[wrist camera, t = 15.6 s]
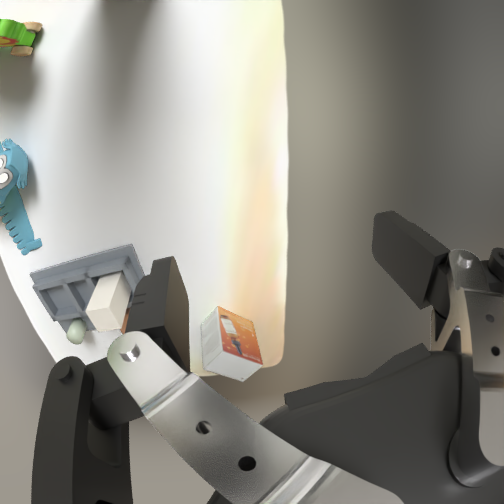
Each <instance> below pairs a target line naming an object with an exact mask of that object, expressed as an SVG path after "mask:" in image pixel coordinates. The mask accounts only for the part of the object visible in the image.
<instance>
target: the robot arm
mask: <svg viewBox="0 0 504 504" xmlns="http://www.w3.org/2000/svg"><path fill="white" fill-rule="evenodd" d="M372 252H373V256H374V258H375V260H376V261H377V262H378V263H379V264H380V266H382V268H383V269H384V270H385V271H386V272H387V273H388V274H389V275H390V276H391V277H392V278H393V279H394V281H396V283H397V284H398V285H399V286H400V287H401V288H402V289H403V290H404V292H405V293H406V294H407V295H408V296H409V297H410V298H411V299H412V301H413V302H414V303H415V304H416V305H417V306H418V308H419V309H423V308H425V307H427V306H430V305H432V306H433V308H432V311H431V349H430V351H428V350H427V348H426V347H425V345H424V344H423V343H421V344H419V345H417V346H414V347H412V348H410V349H408V350H406V351H404V352H402V353H399V354H397V355H395V356H394V357H392V358H391V359H390V360H388V361H387V362H386V363H385V364H383V365H382V366H381V367H379V368H378V369H377V370H375V371H374V372H373V373H371V374H370V375H368V376H367V377H364V378H358V379H351V380H343V381H334V382H323V383H320V384H317V385H314V386H311V387H307V388H304V389H300V390H297V391H293V392H290V393H286V394H284V397H285V405H283V406H281V407H280V408H278V409H277V410H275V411H273V412H272V413H270V414H269V415H268V416H266V417H265V418H264V419H263V420H262V421H261V422H260V423H257V422H256V421H254V420H253V419H252V418H250V417H249V416H248V415H246V414H245V413H243V412H242V411H241V410H239V409H238V408H237V407H235V406H234V405H233V404H232V403H230V402H229V401H228V400H226V399H225V398H224V397H223V396H221V395H220V394H219V393H218V392H216V391H215V390H214V389H213V388H212V387H210V386H209V385H208V384H207V383H205V382H204V381H203V380H202V379H201V378H200V377H198V376H197V375H196V374H194V373H193V372H190V353H189V301H188V296H187V292H186V289H185V286H184V283H183V280H182V277H181V275H180V272H179V269H178V266H177V263H176V260H175V258H174V257H173V256H171V257H167V258H162V259H158V260H154V261H153V264H152V269H151V273H150V275H147V276H143V277H142V279H141V280H140V281H139V283H138V284H137V285H136V288H135V292H134V295H133V296H134V298H133V299H132V303H131V304H132V306H131V307H130V312H129V316H128V320H127V325H126V329H125V334H123V335H121V336H120V337H118V338H117V339H116V340H115V341H114V342H113V343H112V344H111V345H110V347H109V349H108V353H107V357H105V358H103V359H101V360H98V361H96V362H94V363H91V364H89V365H85V364H84V363H83V362H82V361H81V360H80V359H79V358H78V357H74V356H70V357H66V358H64V359H62V360H60V361H59V362H58V363H57V364H56V365H55V366H54V367H53V369H52V370H51V372H50V374H49V378H48V382H47V386H46V390H45V394H44V398H43V403H42V408H41V412H40V418H39V423H38V429H37V435H36V442H35V450H34V459H33V471H32V493H31V494H32V496H31V497H32V498H31V499H32V500H31V504H133V498H132V487H131V475H130V456H129V421H132V420H134V419H137V418H140V417H142V416H145V417H146V418H147V419H148V420H149V422H150V423H151V424H152V425H153V426H154V428H155V429H156V430H157V431H158V432H159V433H160V435H161V436H162V437H163V438H164V439H165V440H166V441H167V442H168V443H169V445H170V446H171V447H172V448H173V449H174V450H175V451H176V452H177V453H178V454H179V455H180V456H181V457H182V458H183V459H184V460H185V461H186V462H187V463H188V464H189V465H190V466H191V467H192V468H193V469H194V470H195V471H196V472H197V473H198V474H199V475H200V476H201V477H202V478H203V479H204V480H205V481H207V482H208V483H209V484H210V485H211V486H212V487H214V489H216V490H215V492H214V493H213V495H212V497H211V498H210V500H209V501H208V503H207V504H504V249H503V248H494V249H493V250H492V252H491V255H490V258H489V260H484V261H480V259H479V258H478V257H477V256H476V255H474V254H473V253H471V252H469V251H467V250H463V249H455V250H452V251H450V250H449V249H448V248H446V247H445V246H444V245H443V244H441V243H440V242H439V241H437V240H436V239H435V238H434V237H432V236H430V234H428V233H427V232H426V231H423V229H422V228H420V227H419V226H417V225H416V224H414V223H411V222H409V221H407V220H406V219H405V218H404V217H402V216H401V215H399V214H398V213H396V212H395V211H386V212H382V213H377V214H376V215H375V217H374V228H373V241H372Z"/></svg>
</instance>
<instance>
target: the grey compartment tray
mask: <svg viewBox="0 0 504 504" xmlns="http://www.w3.org/2000/svg"><path fill="white" fill-rule="evenodd" d="M120 270H123V272H124V274H125V276H126V279H127V281H128V283H129V285H130V287H131V289H132V290H131V294H130V298H129V301H128V305H127V309H126V313H125V317H124V321H123V325H122V329H120V330H121V332H122V333H123V334H125V329H126V325H127V320H128V316H129V312H130V307H131V306H132V304H131V303H132V299H133V298H134V296H133V295H134V292H135V288H136V285H137V284H138V283H139V281H140V280H141V279H142V277H143V276H145V275H144V272H143V270H142V268H141V265H140V263H139V260H138V258H137V255H136V253H135V250H134V248H133V245H132V244H129V245H125V246H122V247H118V248H114V249H110V250H107V251H103V252H100V253H96V254H92V255H89V256H85V257H82V258H78V259H75V260H71V261H68V262H64V263H61V264H58V265H54V266H51V267H48V268H44V269H41V270H38V271H35V272H31V273H30V276H31V278H32V280H33V282H34V283H35V284H34V285H33V289H34V291H35V292H36V294H37V296H38V297H39V299H40V301H41V302H42V304H43V305H44V307H45V309H46V310H47V312H48V313H49V315H50V316H51V318H52V319H53V321H58V322H59V324H60V325H61V326H62V328H63V329H64V331H65V332H66V334H67V335H66V336H67V339H68V340H69V341H70V342H72V343H73V344H81V343H82V340H83V337H84V334H85V331H87V330H94V329H96V328H95V326H94V325H93V323H92V322H91V320H90V318H89V317H88V315H87V314H86V312H85V311H86V308H87V306H88V304H89V301H90V299H91V297H92V294H93V292H94V290H95V287H96V285H97V283H98V281H99V279H100V276H101V275H103V274H107V273H112V272H116V271H120Z"/></svg>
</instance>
